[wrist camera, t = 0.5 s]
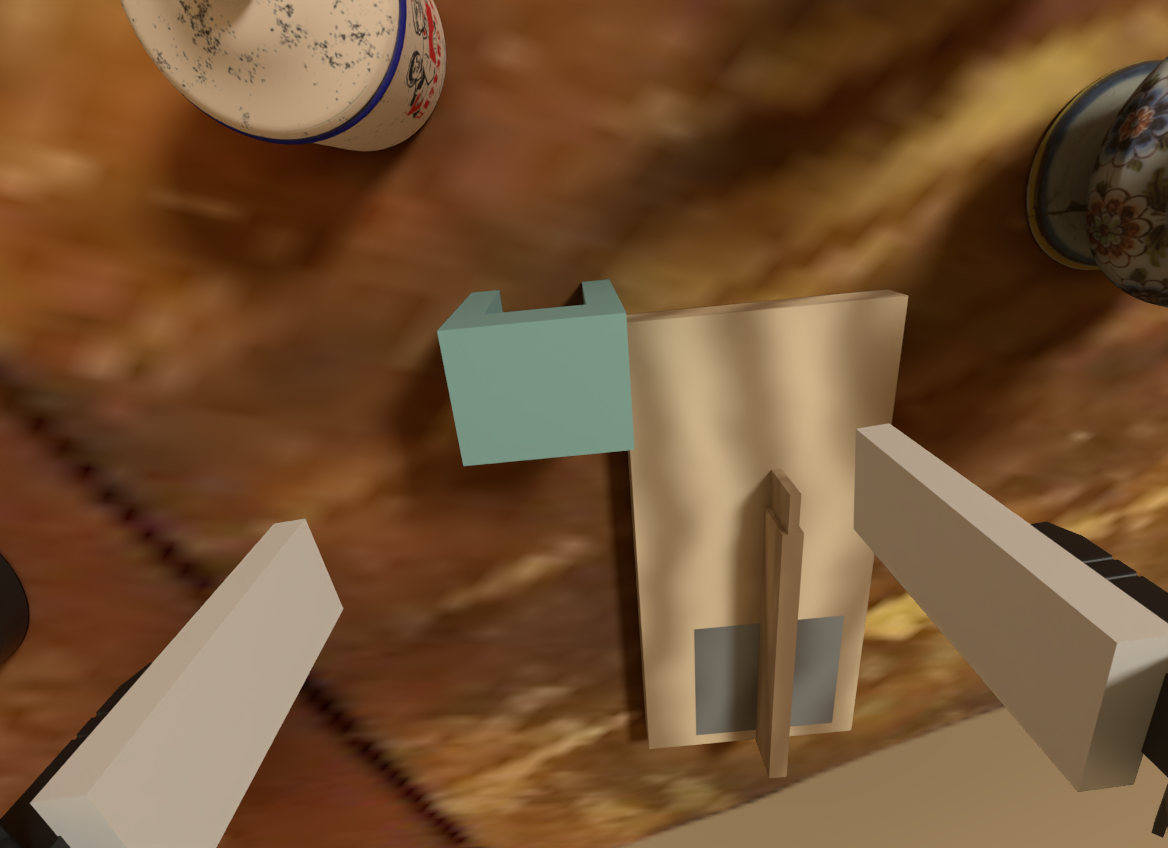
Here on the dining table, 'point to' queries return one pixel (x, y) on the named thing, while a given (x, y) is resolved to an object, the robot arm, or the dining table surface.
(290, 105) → the teacup with lid
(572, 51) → the dining table surface
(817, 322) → the board
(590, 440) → the bracket
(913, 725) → the dining table surface
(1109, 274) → the apothecary jar
